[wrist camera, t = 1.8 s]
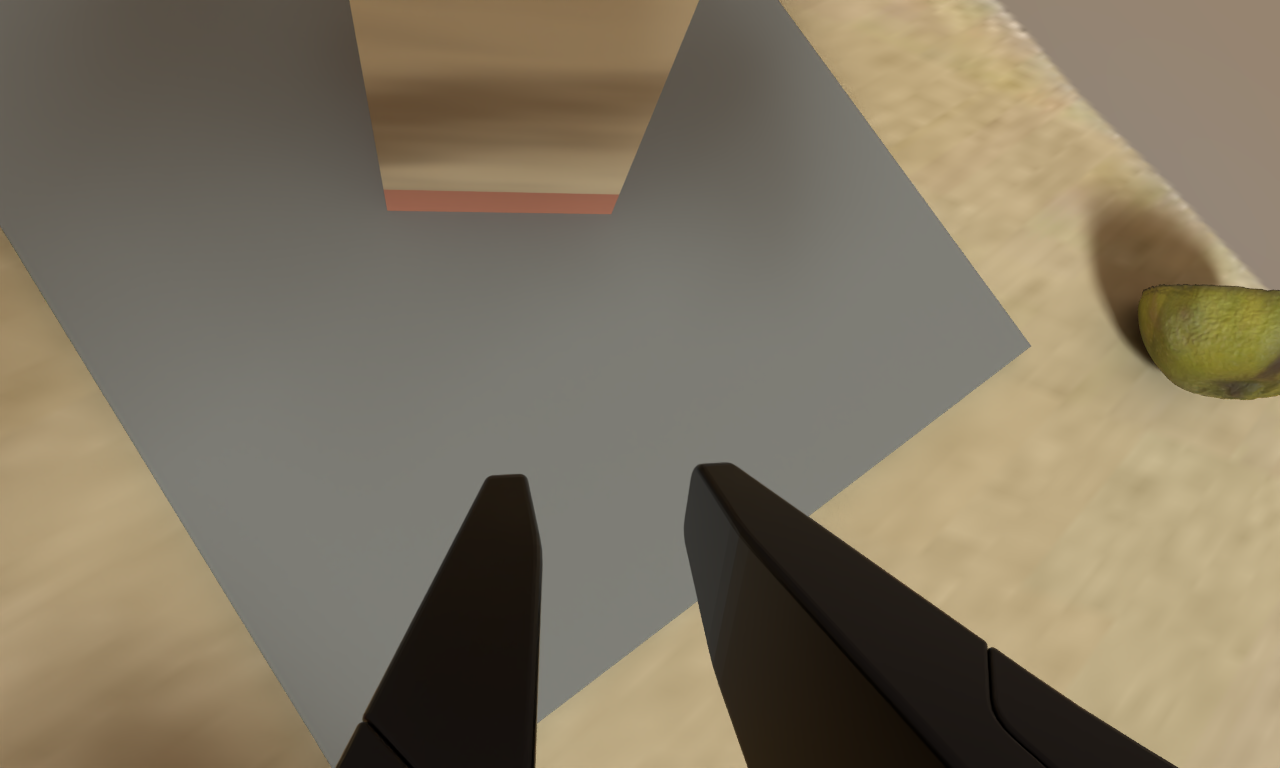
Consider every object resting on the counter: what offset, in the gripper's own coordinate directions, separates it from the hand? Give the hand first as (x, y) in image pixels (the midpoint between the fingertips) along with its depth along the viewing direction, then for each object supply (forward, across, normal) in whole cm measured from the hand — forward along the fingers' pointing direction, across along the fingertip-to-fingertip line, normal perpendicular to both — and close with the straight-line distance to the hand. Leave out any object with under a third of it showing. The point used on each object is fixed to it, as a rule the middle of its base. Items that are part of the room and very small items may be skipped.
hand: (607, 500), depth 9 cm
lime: (+12, -21, +6) cm, 25 cm away
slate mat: (+16, 0, +1) cm, 17 cm away
